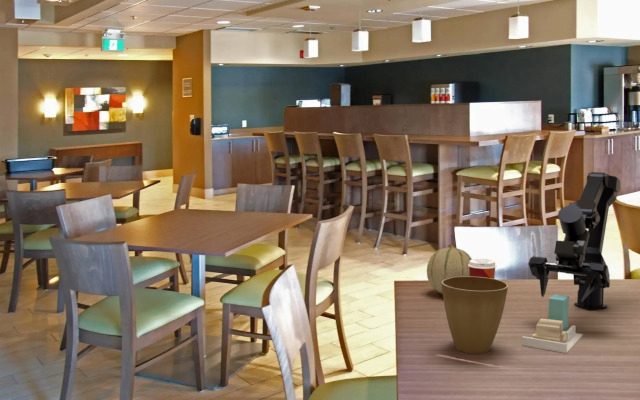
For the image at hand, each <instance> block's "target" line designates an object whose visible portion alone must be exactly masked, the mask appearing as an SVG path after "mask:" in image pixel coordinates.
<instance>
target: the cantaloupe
mask: <svg viewBox="0 0 640 400" xmlns="http://www.w3.org/2000/svg"><path fill="white" fill-rule="evenodd" d="M472 259H473V258H472V256H471V255H469V253H467V251H465V250H463V249H460V248H457V247H455V246H454V245H453V244H448V247H443V248H439V249H438V250H436V251H435V252H434V253H433V254H432V255H431V256H430V257H429V260H428V262H427V265H426V266H427V267H426V277H427V280H428V283H429V284H430V286H431V287H432V288H433V290H435V291H436V292H438V293H439V294H441V295H443V291H442V281H443V280H444V279H447V278H451V277H462V276H470V274H469V266H468V264H469V262H470V260H472Z"/></svg>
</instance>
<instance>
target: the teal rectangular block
mask: <svg viewBox="0 0 640 400" xmlns="http://www.w3.org/2000/svg"><path fill="white" fill-rule="evenodd" d="M569 301H570V296H569V295H566V294H556V293H555V294H553V295H552V296H550V297H549V298H548V319H550V320H559V321H563V330H562V331H567V330H568V329H569V308H570V305H569V304H570V302H569Z"/></svg>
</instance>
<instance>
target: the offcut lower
mask: <svg viewBox="0 0 640 400" xmlns="http://www.w3.org/2000/svg"><path fill="white" fill-rule="evenodd" d="M531 337H532V338H537V339H543V340H549V341H555V342H561V343H566V331H562V333H561V335H560V337H559V338H551V337H543V336H536V331H535V332H534V333H533V334H532V335H531Z"/></svg>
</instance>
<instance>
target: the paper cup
mask: <svg viewBox="0 0 640 400" xmlns="http://www.w3.org/2000/svg"><path fill="white" fill-rule="evenodd" d="M468 266H469V274H470V276H474V277H486V278H492V279H495V277H496V276H495V274H496V268H497V265H496V262H495V260H493V259H487V258H472V260H470V262H469V264H468Z"/></svg>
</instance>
